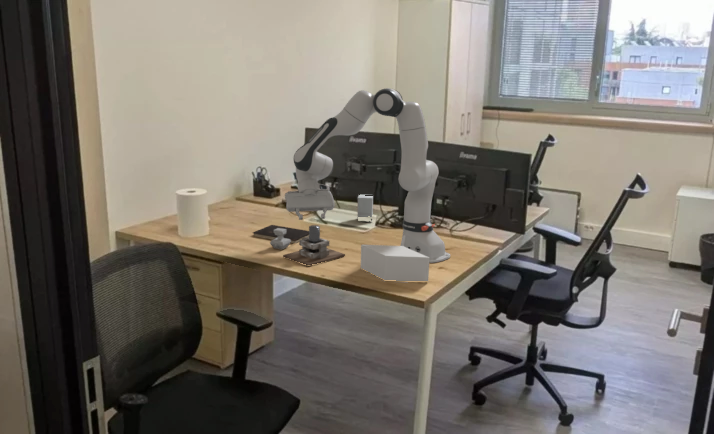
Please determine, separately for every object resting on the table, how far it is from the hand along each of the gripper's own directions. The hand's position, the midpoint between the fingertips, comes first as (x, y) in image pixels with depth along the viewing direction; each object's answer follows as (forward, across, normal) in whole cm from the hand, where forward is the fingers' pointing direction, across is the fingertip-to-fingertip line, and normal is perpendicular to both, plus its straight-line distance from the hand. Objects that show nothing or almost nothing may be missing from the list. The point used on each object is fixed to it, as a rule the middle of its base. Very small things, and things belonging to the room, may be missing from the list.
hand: (312, 218), depth 275 cm
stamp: (+5, -12, +17) cm, 21 cm away
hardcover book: (-8, -9, +30) cm, 32 cm away
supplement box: (-22, +34, +44) cm, 60 cm away
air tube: (+14, 0, +6) cm, 15 cm away
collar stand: (+15, 0, +6) cm, 16 cm away
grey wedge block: (+34, +26, -13) cm, 45 cm away
